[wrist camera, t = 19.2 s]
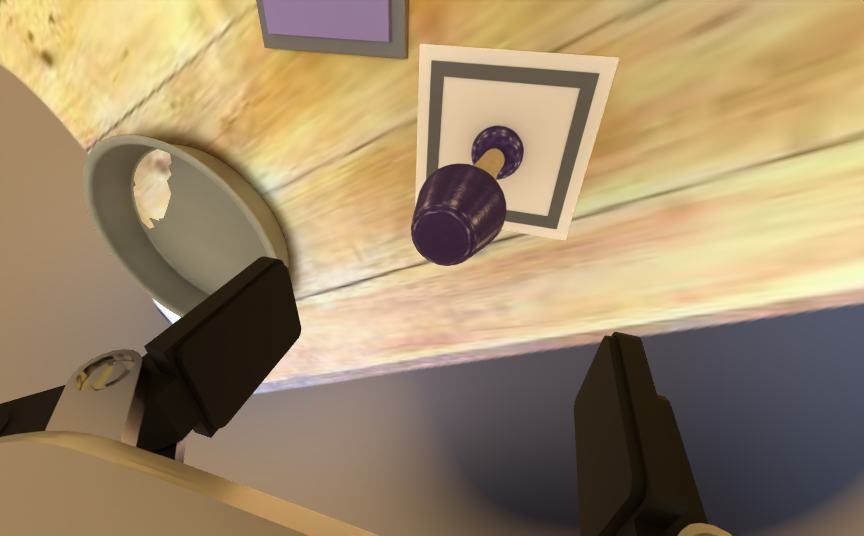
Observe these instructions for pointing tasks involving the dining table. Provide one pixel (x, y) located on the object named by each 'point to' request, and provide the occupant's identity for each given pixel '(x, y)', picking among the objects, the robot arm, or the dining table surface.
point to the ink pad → (336, 26)
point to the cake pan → (179, 221)
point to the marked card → (515, 123)
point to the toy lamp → (466, 200)
